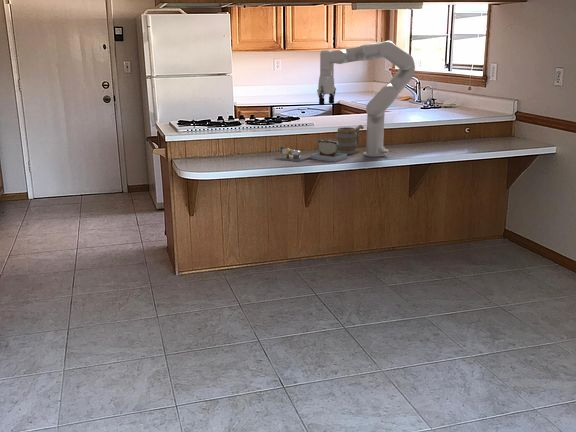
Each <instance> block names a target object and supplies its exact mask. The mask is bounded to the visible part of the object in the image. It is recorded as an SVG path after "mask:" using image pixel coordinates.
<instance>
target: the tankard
mask: <svg viewBox="0 0 576 432" xmlns="http://www.w3.org/2000/svg"><path fill="white" fill-rule="evenodd" d="M360 130H364V125H362V124H359V125H358V126H357V127H338V128H337V132H336V138H337V140H338V145H337V151H336V153H341V154H347V155H353V154H354V153H355V154H357V153H358V148H359V147H360V145H361V139H362V138H361V136H360V135H361V134H360Z"/></svg>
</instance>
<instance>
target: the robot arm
mask: <svg viewBox="0 0 576 432" xmlns="http://www.w3.org/2000/svg"><path fill="white" fill-rule="evenodd" d="M319 54H320V55H319V59H320V60H319V63H320V64H319V78H318V87H317V88H318V89H317V90H316V93H317V96H318V105H319V106H325V95H329V96H328V104H333V105H334V104H335V96H336V91H337V88H336V87H335V78H334V70H335V68H334V66H335V64H336V65H343V64H347V63H352V62H361V61H362V62H366V61H374V60H379V59H380V60H381V59H386V60H387V61H388V62H390V63H391V64H393V65H394V66H396V67H397V68H398V71H397V72H396V73H395V74H394V76H392V78H391V79H390V80H389V81H388V82H387V83H386V84H385V85H384V86H382V87H381V89H380V90H379V91H378V92H377V93H376V94H375V95H374V96H373V97H372V99H370V101H368V103H367V104H366V107H365V111H366V113H367V114H366V117H367V119H366V146H365V150H366V151H364V152H362V153H363V156H364V157H365V156H366V157H371V158H372V157H374V158H375V157H376V158H378V157H385V156H386V155H387V154H389V153H390V150H389V149H386V146H384V138H385V137H384V133H385V132H384V130H385V116H386V115H385V112H386V111H387V109H388V108H390V106H391V105H392V104H393V103H394V102H395V100H396V99H397V98H398V96H399V95H400V93H402V91H403V90H404V89H405V88H406V87H407V86H408V84H409V83H410V82H411V81H412V79H413V77H414V75H415V71H416V65H415V60H414V57H413V56H412V54H410V53H407V52H406V51H404V50H403V49H402V48H400V47H398V46H397V45H396V44H395V43H394V42H393V41H391V40H386V41H380V42H375V43H374V42H373V43H367V44H363V45H360V46H356V47H350V48H344V49H343V48H342V49H338V50H331V49H327V50H326V49H325V50H321V51H320V53H319Z"/></svg>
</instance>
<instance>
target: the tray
mask: <svg viewBox="0 0 576 432" xmlns="http://www.w3.org/2000/svg"><path fill="white" fill-rule="evenodd" d="M310 157H311V159H310V160H318V161H324V162H326V161H327V162H333V163H336V162H340V161H344V160H347V159H348V154H341V153H336V157H331V156H323V155H319V151H318V152H314V153H311V154H310Z"/></svg>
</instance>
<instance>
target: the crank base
mask: <svg viewBox="0 0 576 432" xmlns="http://www.w3.org/2000/svg"><path fill="white" fill-rule="evenodd" d="M285 149H286V154H285V156H284V157H281V160H282V161H290V162H298V163H301V162H304V161H308V160H312V159H311V155H310V156H308V155H302V154H300V157H293V155H292V154H289V149H290V148H289V147H286V148H285Z"/></svg>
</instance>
